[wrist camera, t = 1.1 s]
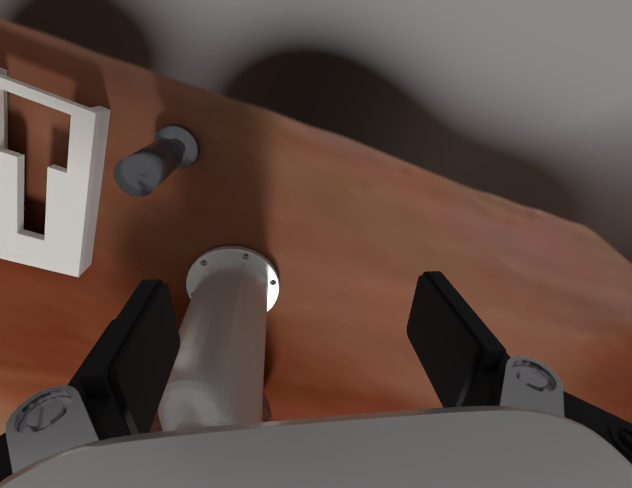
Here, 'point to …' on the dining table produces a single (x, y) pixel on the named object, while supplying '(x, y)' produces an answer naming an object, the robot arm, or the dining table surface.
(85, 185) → the keyhole plate
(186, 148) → the peg
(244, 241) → the dining table surface
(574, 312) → the dining table surface
